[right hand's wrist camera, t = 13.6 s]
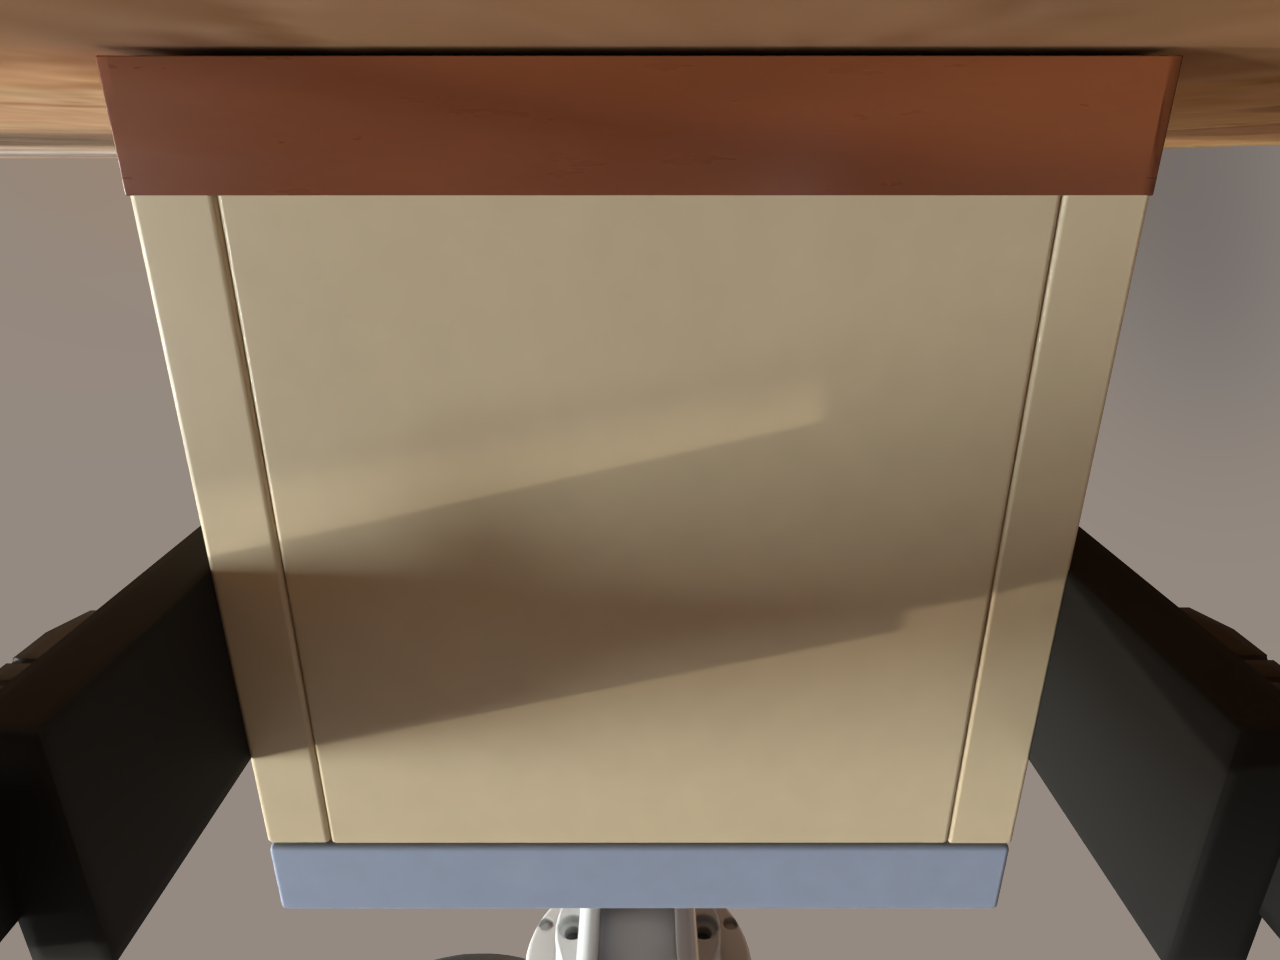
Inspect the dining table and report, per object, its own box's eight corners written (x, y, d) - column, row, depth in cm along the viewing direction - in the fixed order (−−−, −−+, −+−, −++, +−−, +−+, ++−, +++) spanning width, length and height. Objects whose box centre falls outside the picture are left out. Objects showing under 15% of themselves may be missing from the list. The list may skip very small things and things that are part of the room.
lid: (791, 444, 27) (774, 672, 30) (488, 444, 27) (504, 672, 30) (1011, 847, 11) (926, 1240, 14) (267, 848, 11) (352, 1240, 14)
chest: (819, 130, 23) (795, 450, 26) (459, 130, 23) (483, 450, 26) (1183, 55, 7) (1012, 845, 11) (93, 55, 7) (266, 846, 11)
